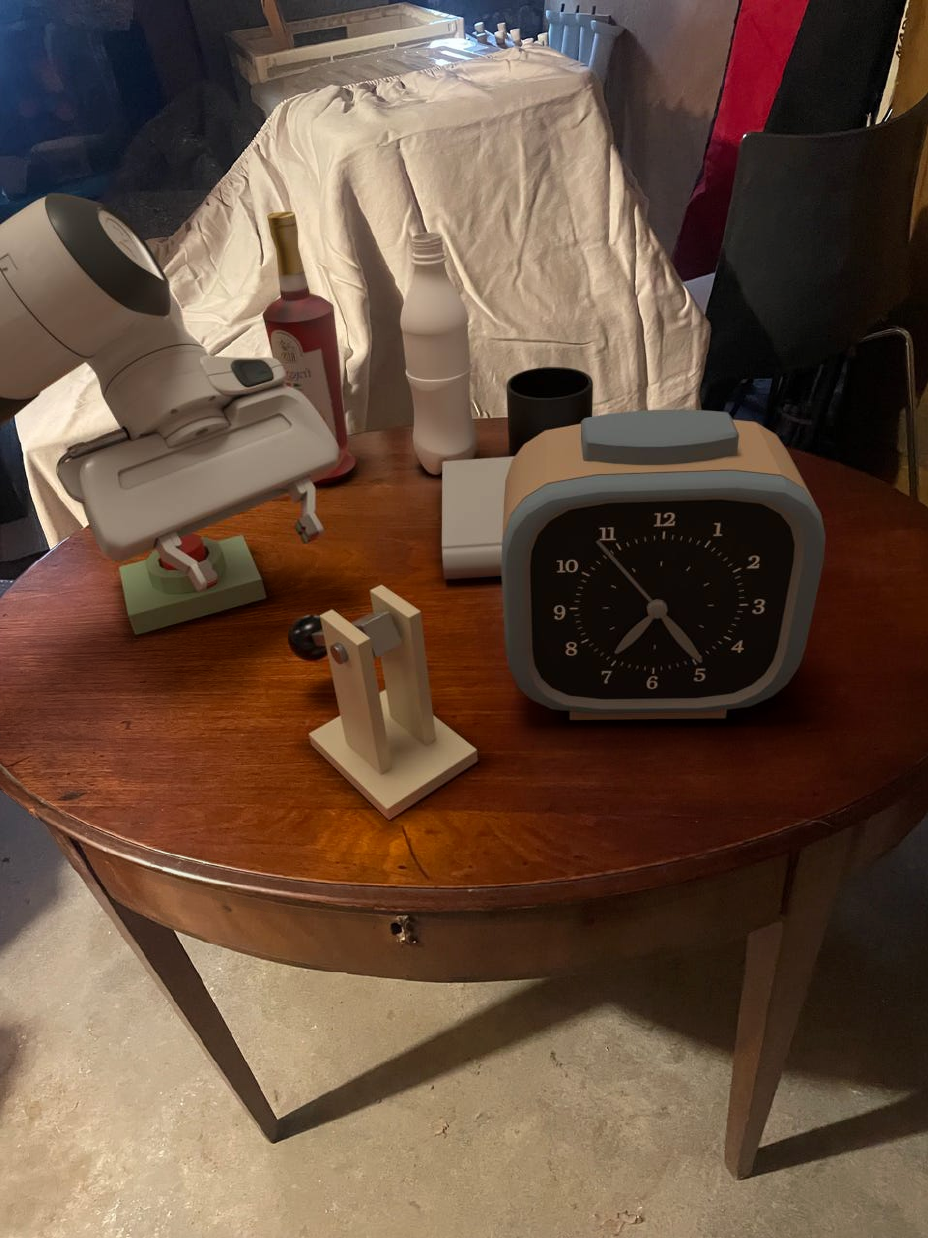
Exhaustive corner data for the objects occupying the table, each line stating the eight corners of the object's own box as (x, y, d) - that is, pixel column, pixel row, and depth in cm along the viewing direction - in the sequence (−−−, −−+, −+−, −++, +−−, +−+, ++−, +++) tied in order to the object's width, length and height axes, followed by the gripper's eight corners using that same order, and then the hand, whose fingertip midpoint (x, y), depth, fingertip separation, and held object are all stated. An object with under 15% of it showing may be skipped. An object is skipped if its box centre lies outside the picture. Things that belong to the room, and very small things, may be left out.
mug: (549, 425, 108) (549, 353, 103) (608, 461, 99) (610, 384, 94) (483, 446, 105) (479, 372, 99) (537, 484, 96) (536, 406, 91)
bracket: (310, 745, 66) (277, 607, 58) (396, 695, 70) (375, 559, 62) (389, 820, 59) (363, 677, 52) (478, 761, 63) (466, 619, 56)
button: (166, 576, 79) (160, 560, 78) (160, 555, 82) (155, 539, 81) (210, 564, 80) (205, 548, 79) (202, 544, 83) (198, 528, 82)
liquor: (370, 465, 103) (333, 207, 86) (336, 494, 97) (290, 225, 81) (318, 456, 105) (272, 204, 89) (283, 484, 100) (227, 222, 84)
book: (442, 461, 94) (667, 445, 93) (445, 492, 96) (665, 477, 95) (441, 552, 79) (709, 534, 78) (445, 587, 81) (704, 570, 81)
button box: (135, 635, 79) (122, 599, 76) (125, 585, 85) (113, 550, 83) (266, 598, 82) (257, 562, 79) (247, 553, 89) (238, 518, 86)
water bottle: (409, 458, 103) (383, 233, 88) (467, 447, 105) (451, 223, 90) (425, 485, 98) (400, 249, 83) (486, 472, 99) (472, 238, 84)
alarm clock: (509, 730, 66) (495, 469, 53) (511, 650, 73) (499, 405, 60) (792, 727, 64) (849, 457, 51) (763, 645, 71) (807, 392, 58)
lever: (292, 669, 68) (273, 627, 68) (331, 648, 70) (313, 607, 69) (371, 672, 56) (348, 621, 55) (415, 647, 58) (394, 597, 57)
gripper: (44, 435, 61) (141, 606, 61) (295, 352, 71) (380, 499, 71) (45, 472, 67) (135, 629, 66) (278, 391, 76) (357, 527, 76)
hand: (263, 561), depth 68 cm, fingers open, 8 cm apart
